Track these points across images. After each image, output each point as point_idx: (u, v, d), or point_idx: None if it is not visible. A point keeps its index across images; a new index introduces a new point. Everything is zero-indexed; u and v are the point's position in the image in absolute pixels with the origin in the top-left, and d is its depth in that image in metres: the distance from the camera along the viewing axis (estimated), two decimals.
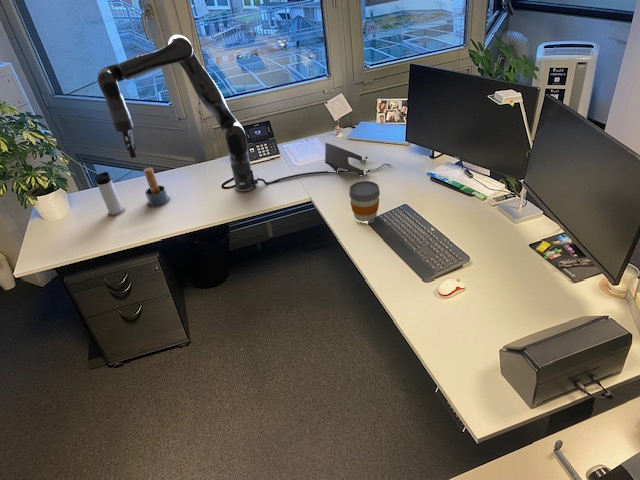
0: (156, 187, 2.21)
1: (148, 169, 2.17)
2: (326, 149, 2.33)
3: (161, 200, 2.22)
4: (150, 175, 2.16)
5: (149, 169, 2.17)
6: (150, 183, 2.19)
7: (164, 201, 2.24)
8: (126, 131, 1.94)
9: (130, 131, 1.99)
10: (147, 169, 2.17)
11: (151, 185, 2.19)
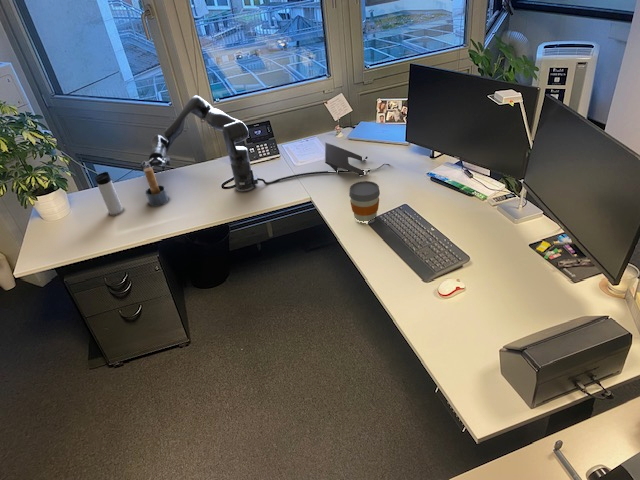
0: (156, 187, 2.21)
1: (148, 169, 2.17)
2: (326, 149, 2.33)
3: (161, 200, 2.22)
4: (150, 175, 2.16)
5: (149, 169, 2.17)
6: (150, 183, 2.19)
7: (164, 201, 2.24)
8: None
9: None
10: (147, 169, 2.17)
11: (151, 185, 2.19)
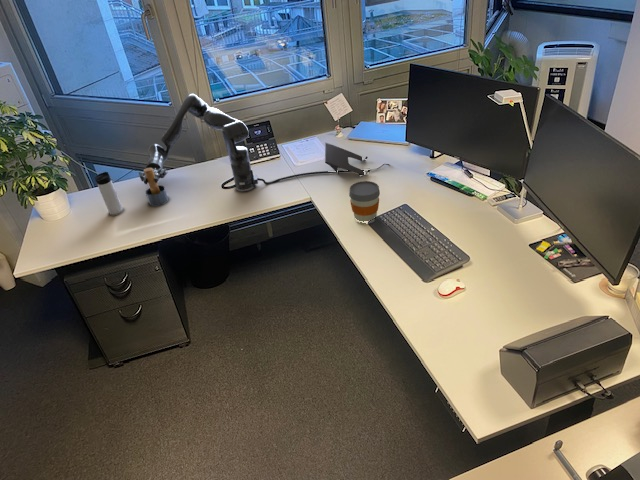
0: (156, 187, 2.21)
1: (148, 169, 2.17)
2: (326, 149, 2.33)
3: (161, 200, 2.22)
4: (150, 175, 2.16)
5: (149, 169, 2.16)
6: (150, 183, 2.19)
7: (164, 201, 2.24)
8: None
9: None
10: (147, 169, 2.17)
11: (151, 185, 2.19)
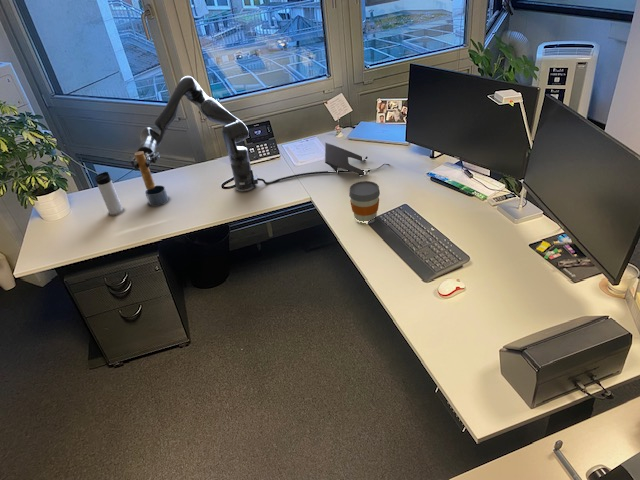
0: (148, 172, 2.06)
1: (139, 153, 2.02)
2: (326, 149, 2.33)
3: (161, 200, 2.22)
4: (141, 159, 2.01)
5: (140, 153, 2.02)
6: (141, 168, 2.04)
7: (164, 201, 2.24)
8: (154, 154, 2.13)
9: None
10: (138, 153, 2.02)
11: (142, 170, 2.04)
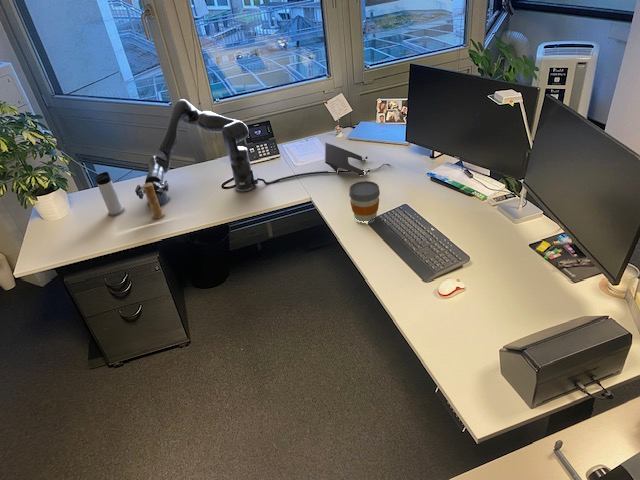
0: (156, 203, 2.09)
1: (148, 184, 2.05)
2: (326, 149, 2.33)
3: (161, 200, 2.22)
4: (150, 190, 2.05)
5: (149, 184, 2.05)
6: (150, 199, 2.07)
7: (164, 201, 2.24)
8: None
9: None
10: (147, 184, 2.05)
11: (151, 201, 2.08)
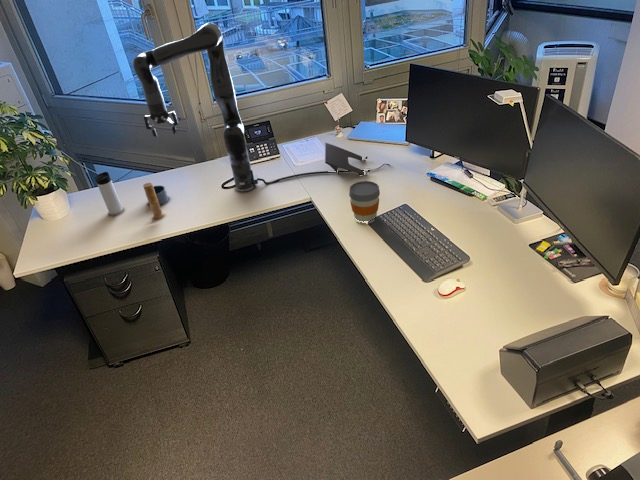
0: (156, 203, 2.09)
1: (148, 184, 2.05)
2: (326, 149, 2.33)
3: (161, 200, 2.22)
4: (150, 190, 2.05)
5: (149, 184, 2.05)
6: (150, 199, 2.07)
7: (164, 201, 2.24)
8: (166, 109, 2.10)
9: None
10: (147, 184, 2.05)
11: (151, 201, 2.08)
